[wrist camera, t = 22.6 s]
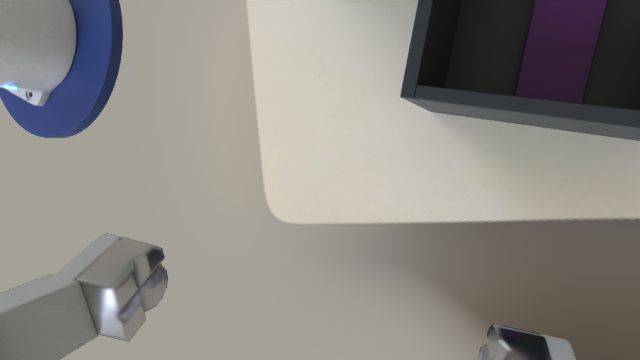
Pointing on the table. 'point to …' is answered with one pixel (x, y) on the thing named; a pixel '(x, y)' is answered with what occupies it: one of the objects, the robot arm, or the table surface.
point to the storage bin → (504, 64)
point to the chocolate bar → (560, 49)
